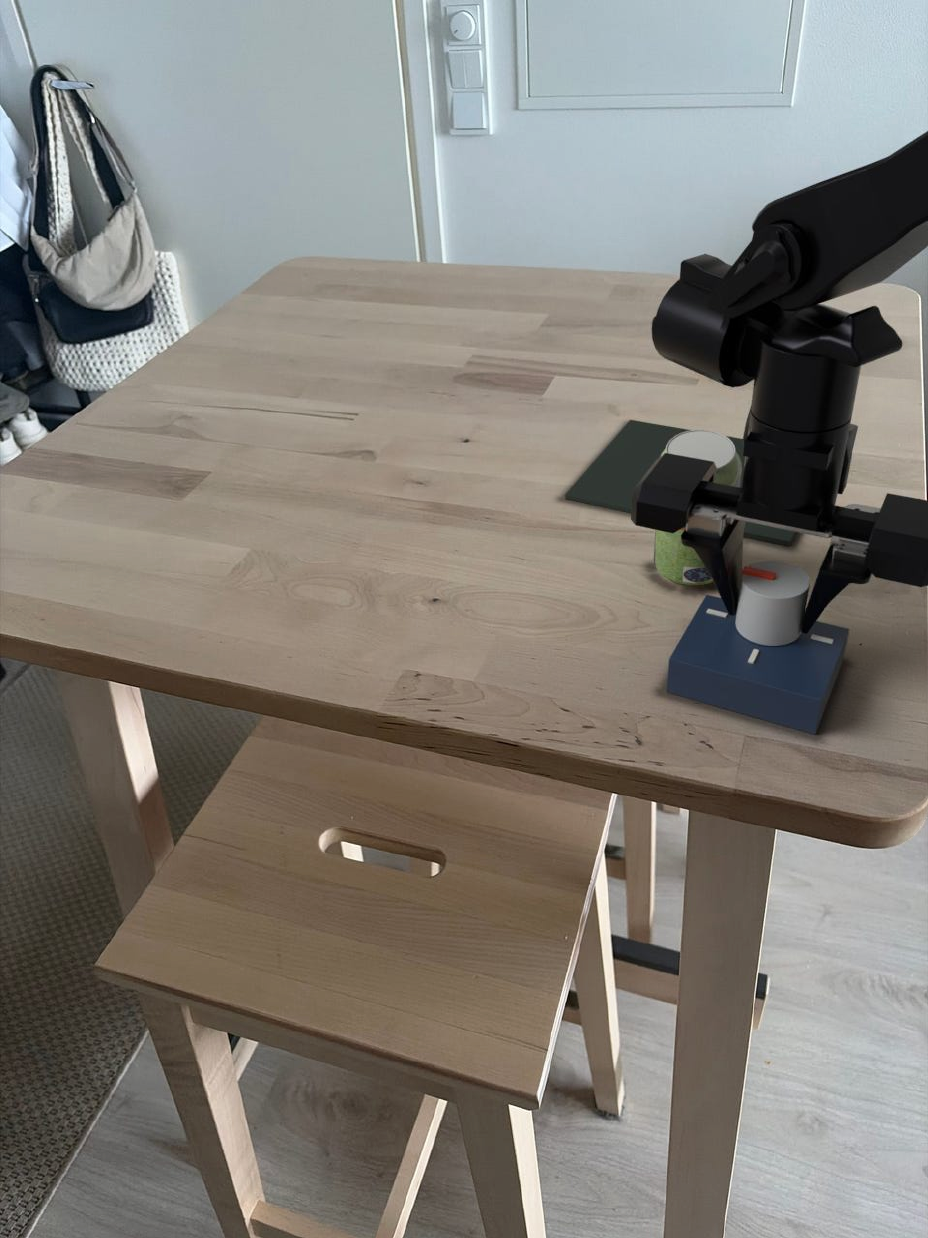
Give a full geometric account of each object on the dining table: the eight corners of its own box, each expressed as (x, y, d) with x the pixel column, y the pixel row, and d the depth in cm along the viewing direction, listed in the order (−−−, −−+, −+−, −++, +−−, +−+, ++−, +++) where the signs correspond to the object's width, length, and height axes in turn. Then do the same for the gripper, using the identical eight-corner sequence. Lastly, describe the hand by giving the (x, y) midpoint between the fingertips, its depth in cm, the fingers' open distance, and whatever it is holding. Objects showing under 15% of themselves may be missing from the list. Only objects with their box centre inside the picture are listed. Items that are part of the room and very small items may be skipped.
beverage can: (725, 549, 82) (740, 415, 74) (736, 602, 76) (753, 463, 68) (648, 549, 82) (655, 416, 75) (652, 602, 76) (660, 464, 69)
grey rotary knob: (808, 616, 69) (817, 565, 66) (792, 653, 66) (801, 600, 63) (745, 601, 71) (752, 550, 68) (727, 636, 68) (733, 585, 65)
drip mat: (833, 459, 92) (834, 454, 92) (789, 546, 81) (790, 541, 81) (630, 423, 100) (630, 419, 100) (565, 499, 90) (564, 494, 89)
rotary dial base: (849, 643, 71) (857, 608, 69) (815, 735, 64) (822, 698, 62) (712, 609, 75) (716, 575, 73) (666, 692, 68) (668, 656, 66)
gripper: (990, 380, 60) (934, 589, 70) (691, 340, 68) (677, 533, 77) (965, 463, 53) (905, 685, 62) (632, 408, 60) (624, 612, 70)
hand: (769, 620), depth 68 cm, fingers open, 5 cm apart
